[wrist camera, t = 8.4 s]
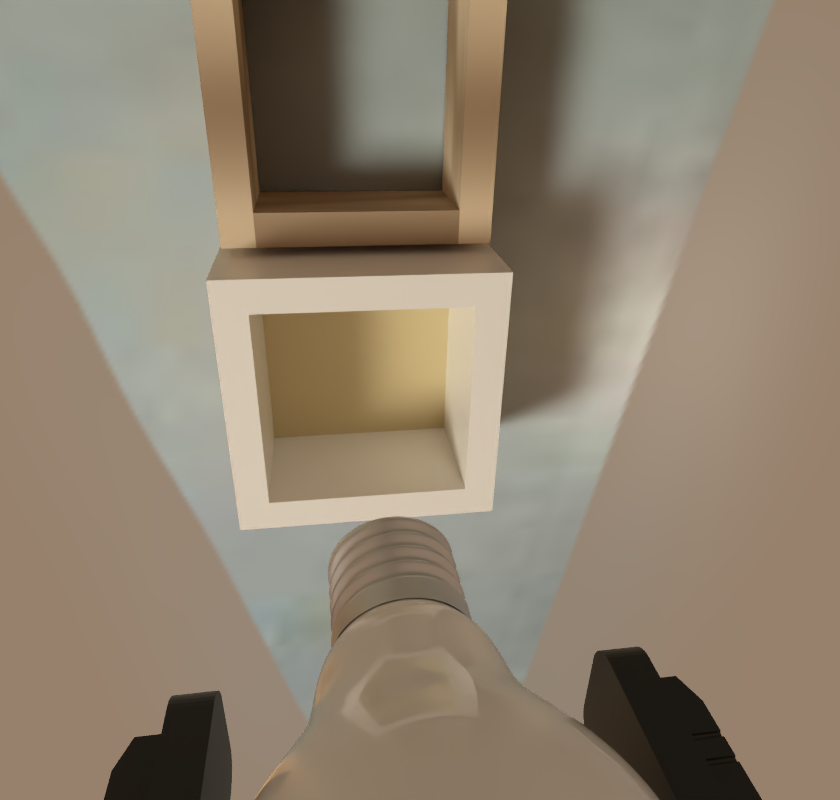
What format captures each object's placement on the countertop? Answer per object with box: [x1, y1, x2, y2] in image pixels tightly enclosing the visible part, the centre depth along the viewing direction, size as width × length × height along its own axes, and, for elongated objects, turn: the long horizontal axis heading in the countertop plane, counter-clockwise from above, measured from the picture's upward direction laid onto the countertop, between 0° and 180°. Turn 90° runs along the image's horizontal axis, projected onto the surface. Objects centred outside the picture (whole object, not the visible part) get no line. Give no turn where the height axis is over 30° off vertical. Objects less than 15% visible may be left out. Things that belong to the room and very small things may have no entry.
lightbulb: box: [254, 516, 660, 800], centre depth 10 cm, size 6×6×11 cm
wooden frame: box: [190, 0, 507, 249], centre depth 19 cm, size 8×8×3 cm
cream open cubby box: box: [206, 243, 513, 530], centre depth 22 cm, size 8×8×5 cm
